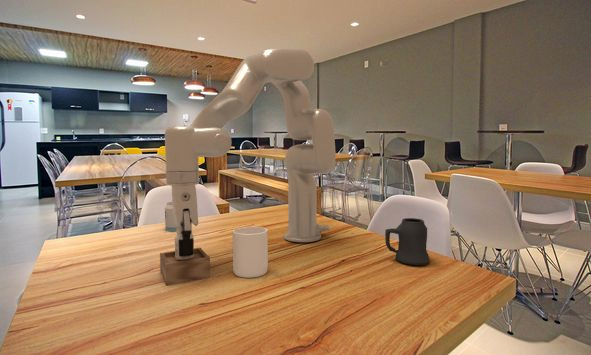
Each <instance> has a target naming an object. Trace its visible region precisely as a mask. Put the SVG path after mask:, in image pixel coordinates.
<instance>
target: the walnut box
mask: <svg viewBox="0 0 591 355" xmlns="http://www.w3.org/2000/svg"><path fill="white" fill-rule="evenodd" d="M159 262H160V263H159V264H160V266H159V267H160V274H161V277H162V278H163V282H164V285H165V286H172V285H177V284H183V283H187V282H188V283H189V282H193V281H194V282H195V281H198V280H199V281H200V280H204V279H205V280H206V279H210V278H211V257H210V256H209V255H208V254H207V253H206V252H205V251H204V250H203V249H202V248H201V247H194V256H193V257H192V258H190V259H186V260H179V259H176V258H175V250H173V251H166V252H165V251H163V252H160V253H159Z"/></svg>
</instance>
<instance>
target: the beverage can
mask: <svg viewBox="0 0 591 355" xmlns="http://www.w3.org/2000/svg"><path fill="white" fill-rule="evenodd" d="M164 216H165V217H164V222H165V224H164V225H165V228H164V229H165V231H166V232H168V233H177V232H176V227H177V226H176V224H175V222H174V216H173V206H172V201H170V202H166V205H165V207H164Z"/></svg>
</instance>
